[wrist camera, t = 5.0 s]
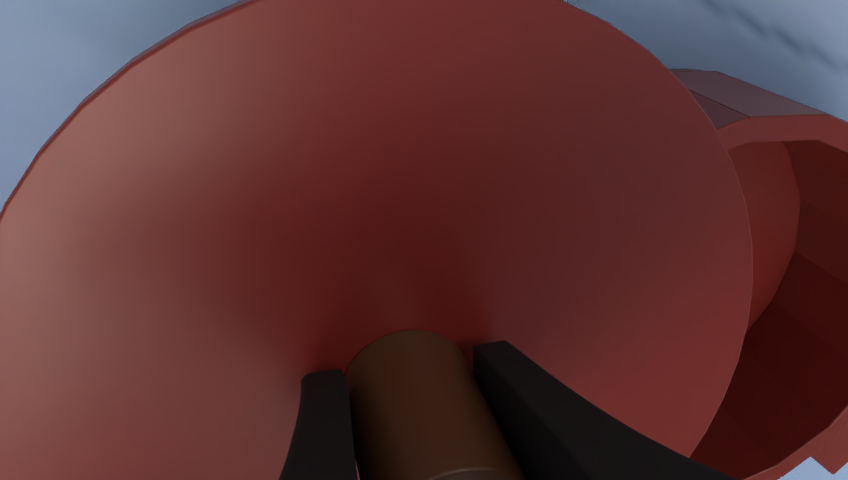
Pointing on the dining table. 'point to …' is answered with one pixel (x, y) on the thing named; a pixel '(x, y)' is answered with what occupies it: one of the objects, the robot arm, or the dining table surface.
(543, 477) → the robot arm
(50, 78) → the dining table surface
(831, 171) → the pot
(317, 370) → the pot lid
